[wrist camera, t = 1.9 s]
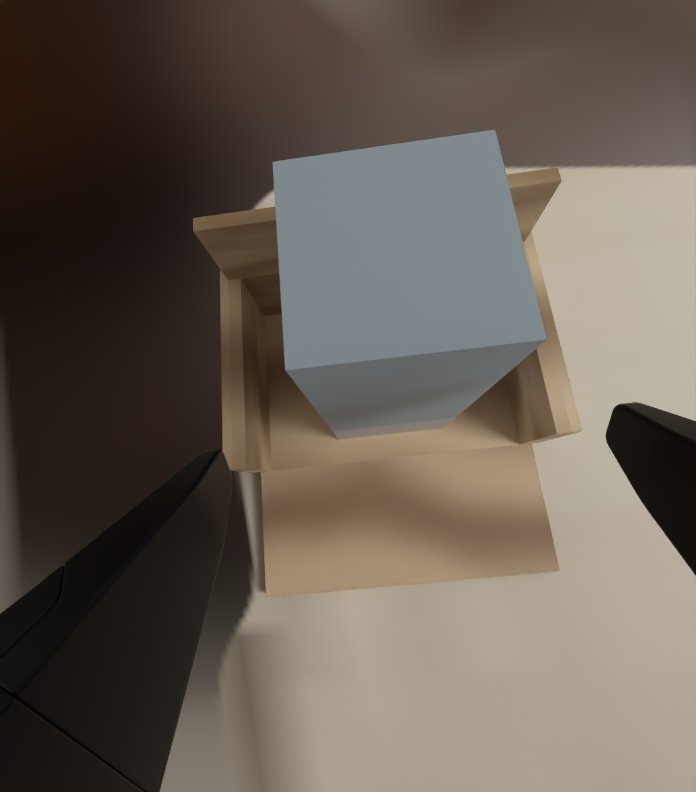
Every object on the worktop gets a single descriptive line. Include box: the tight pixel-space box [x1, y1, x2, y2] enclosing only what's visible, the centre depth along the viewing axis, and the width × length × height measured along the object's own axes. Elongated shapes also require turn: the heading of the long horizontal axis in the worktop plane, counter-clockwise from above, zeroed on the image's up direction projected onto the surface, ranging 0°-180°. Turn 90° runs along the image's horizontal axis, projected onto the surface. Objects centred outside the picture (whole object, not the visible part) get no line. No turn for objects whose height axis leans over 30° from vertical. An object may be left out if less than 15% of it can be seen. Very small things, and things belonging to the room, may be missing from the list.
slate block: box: [273, 130, 547, 440], centre depth 14 cm, size 6×6×12 cm
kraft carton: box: [193, 168, 582, 597], centre depth 16 cm, size 16×15×8 cm
